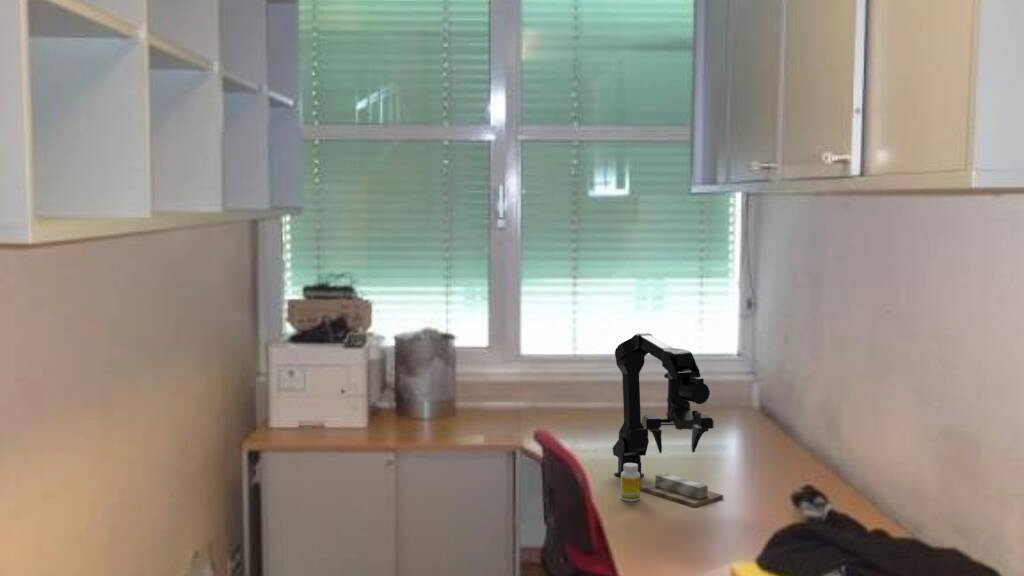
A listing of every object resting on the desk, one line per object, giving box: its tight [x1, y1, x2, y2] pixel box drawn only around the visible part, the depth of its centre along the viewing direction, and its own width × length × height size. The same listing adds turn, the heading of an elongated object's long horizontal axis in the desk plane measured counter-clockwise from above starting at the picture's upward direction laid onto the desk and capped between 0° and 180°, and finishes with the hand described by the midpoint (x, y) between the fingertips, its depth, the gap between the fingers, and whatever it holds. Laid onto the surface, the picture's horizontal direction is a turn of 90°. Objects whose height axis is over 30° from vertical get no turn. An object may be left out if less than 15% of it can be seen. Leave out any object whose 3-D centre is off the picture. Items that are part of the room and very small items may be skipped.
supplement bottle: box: [619, 463, 641, 502], centre depth 275 cm, size 5×5×10 cm
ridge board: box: [640, 472, 724, 508], centre depth 279 cm, size 20×12×4 cm, turn 39°
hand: (676, 452), depth 275 cm, fingers open, 9 cm apart
